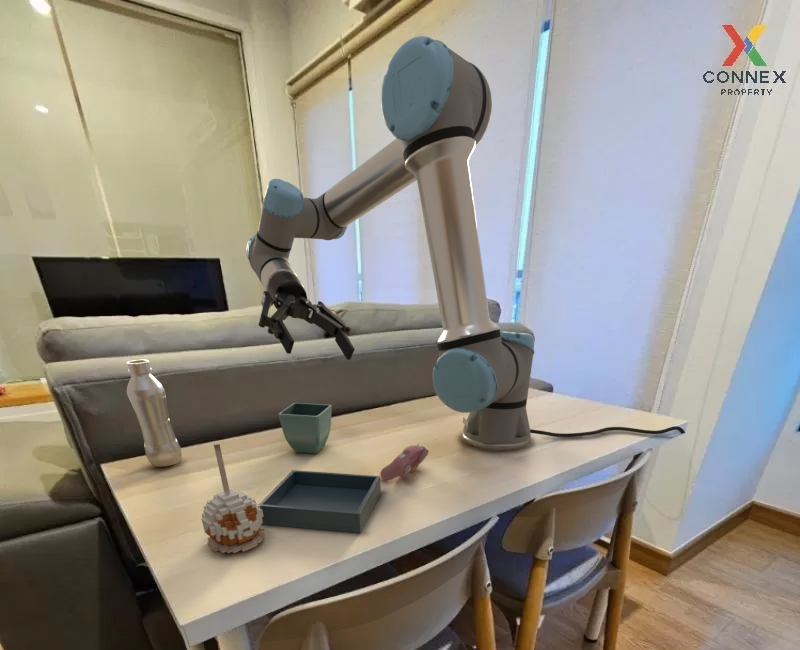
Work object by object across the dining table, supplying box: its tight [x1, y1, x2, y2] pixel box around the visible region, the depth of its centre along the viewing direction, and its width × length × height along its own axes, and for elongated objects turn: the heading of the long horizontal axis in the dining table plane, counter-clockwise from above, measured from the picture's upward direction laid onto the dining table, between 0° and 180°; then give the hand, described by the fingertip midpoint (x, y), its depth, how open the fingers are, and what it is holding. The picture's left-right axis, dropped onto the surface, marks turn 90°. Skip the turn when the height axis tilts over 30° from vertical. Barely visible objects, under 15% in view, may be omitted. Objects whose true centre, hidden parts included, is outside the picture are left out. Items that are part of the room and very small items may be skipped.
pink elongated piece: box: [379, 443, 429, 481], centre depth 87 cm, size 10×5×7 cm, turn 148°
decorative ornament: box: [200, 443, 266, 554], centre depth 64 cm, size 8×8×15 cm
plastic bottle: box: [126, 359, 183, 468], centre depth 89 cm, size 6×7×20 cm
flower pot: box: [277, 402, 333, 454], centre depth 99 cm, size 9×9×9 cm
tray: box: [258, 469, 382, 534], centre depth 76 cm, size 16×14×3 cm
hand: (322, 351), depth 92 cm, fingers open, 13 cm apart
